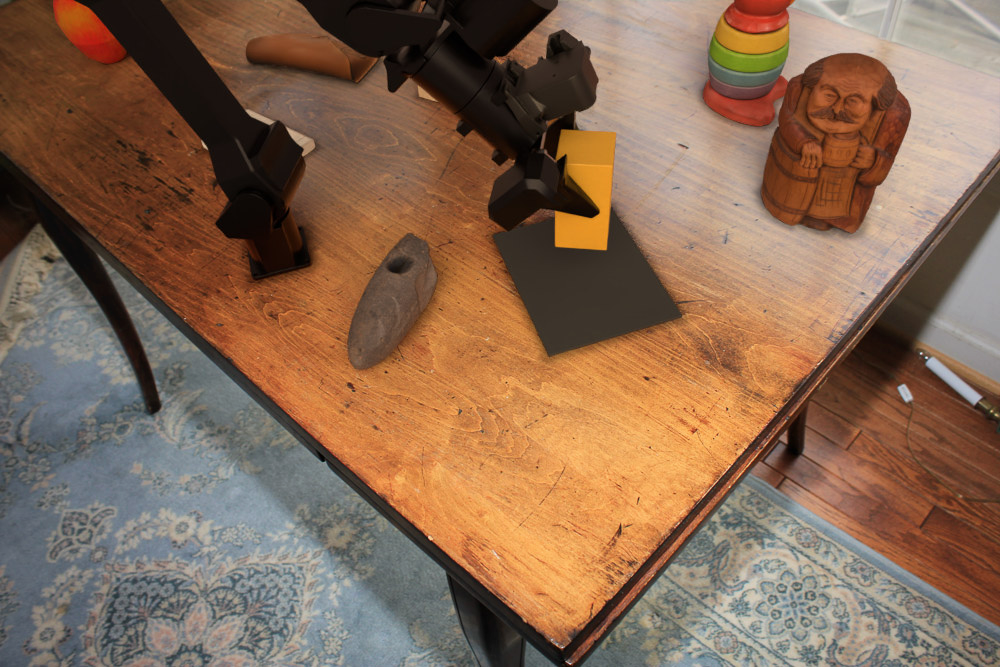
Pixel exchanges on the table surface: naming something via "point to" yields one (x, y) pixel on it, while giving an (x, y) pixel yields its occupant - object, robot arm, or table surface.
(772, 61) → the stacking bear
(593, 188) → the mustard block
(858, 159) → the wooden figurine
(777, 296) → the table surface
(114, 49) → the red orange mango
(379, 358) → the perforated stone tool
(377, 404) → the table surface
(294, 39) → the sunglasses case
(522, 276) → the slate mat
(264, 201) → the robot arm
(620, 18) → the table surface
